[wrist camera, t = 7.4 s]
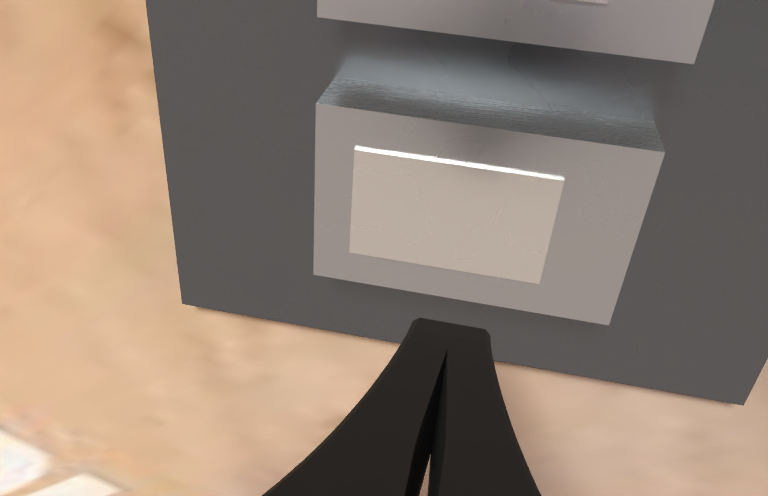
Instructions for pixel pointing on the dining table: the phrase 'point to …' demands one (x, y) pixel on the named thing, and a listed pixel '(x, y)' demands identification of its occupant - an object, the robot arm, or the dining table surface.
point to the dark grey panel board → (492, 81)
